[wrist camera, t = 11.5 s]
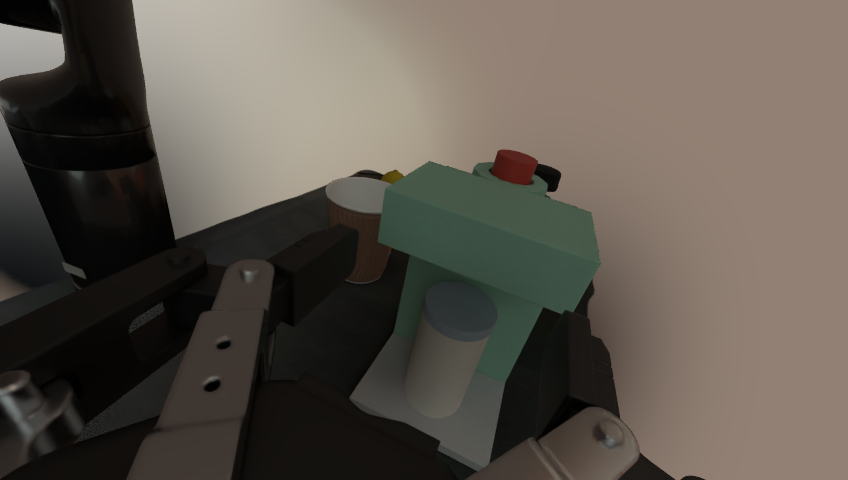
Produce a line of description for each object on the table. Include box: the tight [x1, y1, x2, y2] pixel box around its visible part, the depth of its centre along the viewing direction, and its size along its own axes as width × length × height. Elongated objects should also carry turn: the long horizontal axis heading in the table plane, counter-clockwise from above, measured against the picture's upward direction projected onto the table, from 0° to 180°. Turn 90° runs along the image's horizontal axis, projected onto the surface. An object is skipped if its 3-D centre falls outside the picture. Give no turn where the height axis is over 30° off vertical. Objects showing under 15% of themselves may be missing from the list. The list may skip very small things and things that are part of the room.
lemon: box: [381, 170, 404, 184], centre depth 64 cm, size 6×6×8 cm
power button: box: [491, 150, 538, 185], centre depth 28 cm, size 3×3×2 cm
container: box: [404, 281, 498, 418], centre depth 29 cm, size 6×6×11 cm
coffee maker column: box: [394, 162, 578, 383], centre depth 33 cm, size 6×13×21 cm, turn 69°
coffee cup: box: [325, 177, 392, 284], centre depth 44 cm, size 10×10×12 cm
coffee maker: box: [349, 161, 601, 471], centre depth 27 cm, size 9×13×21 cm
